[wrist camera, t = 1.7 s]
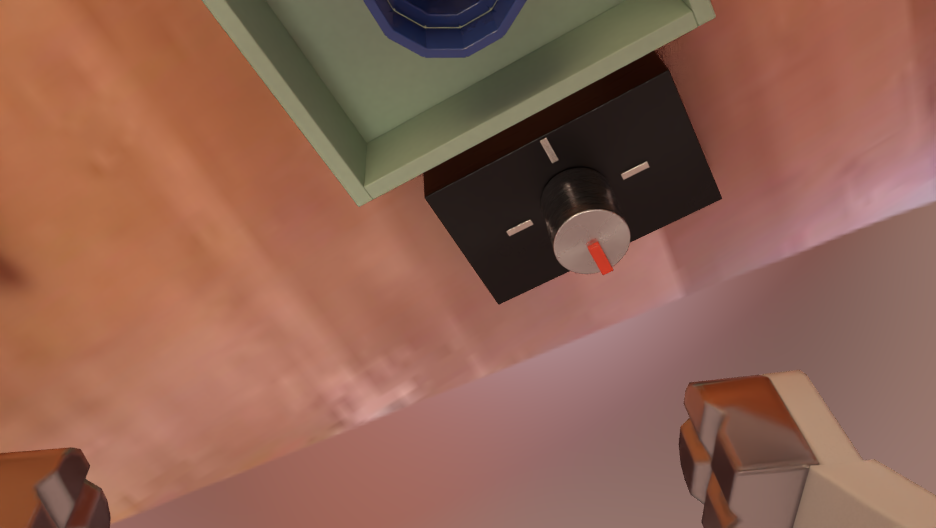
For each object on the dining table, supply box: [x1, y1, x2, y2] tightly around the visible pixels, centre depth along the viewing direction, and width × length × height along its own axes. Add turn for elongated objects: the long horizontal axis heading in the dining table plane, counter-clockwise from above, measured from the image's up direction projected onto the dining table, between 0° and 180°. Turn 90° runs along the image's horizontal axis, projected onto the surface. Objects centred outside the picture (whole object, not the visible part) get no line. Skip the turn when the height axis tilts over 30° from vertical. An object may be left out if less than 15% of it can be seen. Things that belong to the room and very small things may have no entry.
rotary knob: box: [541, 168, 630, 275], centre depth 37 cm, size 4×4×4 cm
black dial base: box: [423, 51, 722, 304], centre depth 40 cm, size 13×8×3 cm, turn 119°
